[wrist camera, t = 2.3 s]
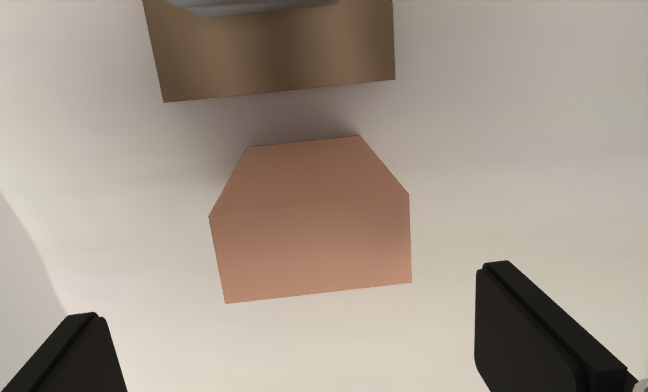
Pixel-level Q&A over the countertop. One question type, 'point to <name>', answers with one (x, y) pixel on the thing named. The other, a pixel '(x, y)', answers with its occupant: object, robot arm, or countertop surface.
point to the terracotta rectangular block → (310, 222)
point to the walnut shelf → (268, 45)
